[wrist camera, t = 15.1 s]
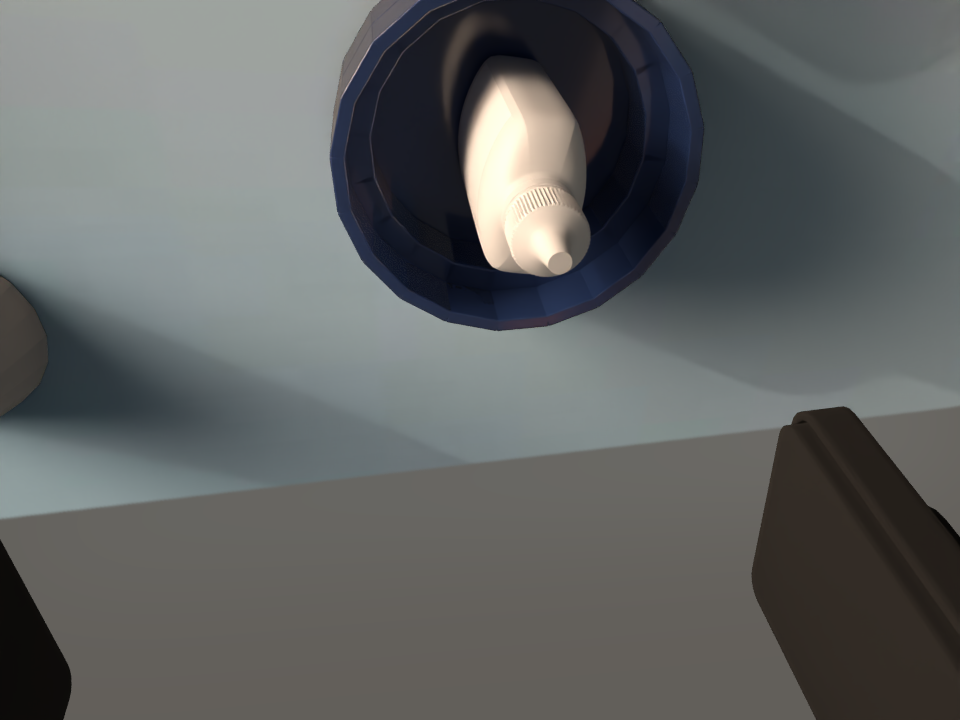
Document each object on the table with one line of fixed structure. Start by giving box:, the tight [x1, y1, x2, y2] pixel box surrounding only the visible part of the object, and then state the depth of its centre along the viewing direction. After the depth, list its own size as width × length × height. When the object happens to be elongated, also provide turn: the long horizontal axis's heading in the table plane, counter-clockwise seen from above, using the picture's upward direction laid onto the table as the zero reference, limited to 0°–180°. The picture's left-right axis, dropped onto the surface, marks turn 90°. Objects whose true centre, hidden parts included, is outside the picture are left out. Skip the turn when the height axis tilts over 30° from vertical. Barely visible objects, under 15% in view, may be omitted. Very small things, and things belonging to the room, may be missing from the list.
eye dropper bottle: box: [458, 55, 591, 277], centre depth 29 cm, size 4×6×12 cm
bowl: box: [330, 0, 704, 331], centre depth 32 cm, size 13×13×6 cm
